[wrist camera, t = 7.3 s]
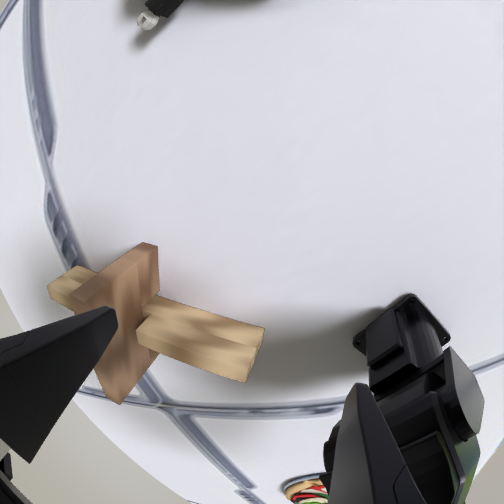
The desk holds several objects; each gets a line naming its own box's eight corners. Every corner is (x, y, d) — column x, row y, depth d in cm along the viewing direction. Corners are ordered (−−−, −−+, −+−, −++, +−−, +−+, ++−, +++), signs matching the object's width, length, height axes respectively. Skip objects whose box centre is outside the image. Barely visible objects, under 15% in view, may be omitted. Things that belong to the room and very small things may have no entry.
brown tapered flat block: (142, 242, 23) (69, 294, 16) (157, 246, 23) (84, 302, 15) (152, 341, 29) (106, 397, 21) (165, 346, 28) (120, 405, 21)
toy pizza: (342, 510, 44) (339, 524, 40) (256, 482, 42) (250, 499, 38) (444, 481, 30) (445, 498, 26) (374, 452, 29) (372, 478, 25)
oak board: (264, 328, 23) (247, 370, 19) (262, 341, 24) (245, 383, 20) (77, 265, 28) (46, 285, 23) (79, 276, 29) (50, 298, 24)
